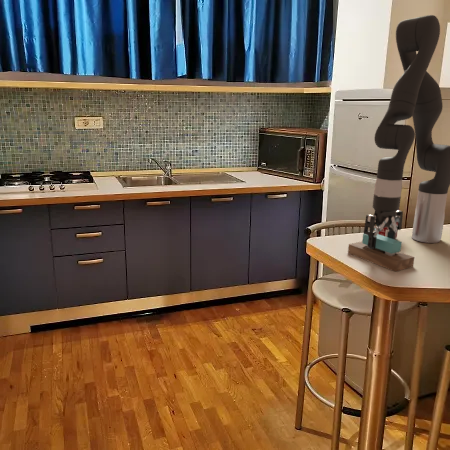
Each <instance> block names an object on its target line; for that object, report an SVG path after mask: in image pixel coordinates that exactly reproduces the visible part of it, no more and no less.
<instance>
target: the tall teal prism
mask: <svg viewBox="0 0 450 450" xmlns="http://www.w3.org/2000/svg"><path fill="white" fill-rule="evenodd" d="M376 237H377V239H376V247H375V249H376V248H377V249H380V250H383V251H385V254H386V255H389V256H394V255H395V253H396V252H401V249H402V241H400V240H397V239H396V238H395V239H391V238H388V237H385V236H382V235H379V234H377V236H376ZM368 238H369V236H368V235H366V234H364V233H363V234H362V240H361V241H362V243H363V244H366V245H367V248H369V247H368ZM369 249H371V248H369Z"/></svg>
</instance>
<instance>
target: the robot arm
mask: <svg viewBox="0 0 450 450" xmlns="http://www.w3.org/2000/svg"><path fill="white" fill-rule="evenodd" d="M440 35H441V25H440V22H439V19H438V16H436V15H433V14H430V15H429V14H428V15H422V16H417V17H412V18H408V19H403V20H401V21H400V22H398V24H397V25H396V29H395V43H396V47H397V52H398V55H399V58H400V62H401V65H402V70H403V74H402V75H401V76H400V77H399V78H398V80H397V81H396V83H395V84H394V87H393V89H392V92H391V96H390V100H389V104H388V107H387V110H386V112H385V115H384V116H383V118H382V120H381V121H380V122H379V125H378V126H377V128H376V130H375V134H374V143H375V145H376V146H377V148H379V149H385V150H397V152H396V154H395V155H394V156H387V157H386V156H385V157H382V158H380V159H379V160H378V165H377V173H376V179H375V180H376V181H375V183H374V191H373V200H372V209H374V213H373V214H366V215H365V222H364V226H363V227H364V228H363V234H366V235H368V236H369V238H368V247H369V248H371V249H375V247H376V239H377V237H376V236H377V234H378V233H379V231H381V230H382V229H383V228H385V227H387V228H388V230H389V231H388V235H387V237H388V238H391V239H395V240H396V238H395V235H396V233H397V234H398V232H397V230H398V231H401V229H402V227H403V226H402V225H403V215H404V211H402V210H400V211H399V209H400V207H401V206H400V205H401V198H402V190H403V178H404V177H403V175H404V170H405V169H404V168H405V163H406V160H407V157H408V155H409V152H410V150H411V148H412V146H413V144H414V142H415V148H416V149H415V150H416V160H417V164H418V167H419V168H420V169H421V170H424V171H428V172H433V173H434V174H435V175H434V176H433V178H432V179H430V180H428V179H427V180H424V181H421V182H419V184H418V191H417V197H416V205H415V209H414V210H415V212H414V219H413V226H412V231H411V238H412V240H414V241H417V242H421V243H427V244H437V243H440V241H441V240H442V236H443V235H442V234H443V229H444V223H445V218H446V214H445V212H446V204H447V197H448V192H449V188H450V145H447V144H438V143H434V141H433V135H432V134H433V129H434V127H435V125H436V123H437V121H438V120H439V118H440V116H441V114H442V112H443V97H442V91H441V87H440V85H439V84H438V82H437V81H436V79H434V77H433V76H432V75H431V74H430V73H429V72H428V71H427V70H428V68H429V66H430V63H431V60H432V58H433V56H434V54H435V51H436V48H437V46H438V43H439V39H440ZM410 118H412V122H413V126H411V124H410V125H409V124H398V122H401V121H405V120H409V119H410ZM396 123H397V124H396ZM396 222H398V225H396Z"/></svg>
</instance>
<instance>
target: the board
mask: <svg viewBox="0 0 450 450" xmlns="http://www.w3.org/2000/svg"><path fill="white" fill-rule="evenodd" d="M347 254H349V255H352V256H354V257H357V258H359V259H363V260H364V261H367V262H371V263H373V264H375V265H378V266H380V267H382V268H386V269H388V270H391V271H393V272H398V271H403V270H405V269H410V268H413V267H414V264H415V256H413V255H410V254H407V253H404V252H401V251H400V252H396V253H395V255H394V256H389V255H386V254H385V251H383V250H380V249H377V248H376V249H369V248H367V245H366V244H363V243H362V240H361V241H358V242H357V241H356V242H354V243H349V244H348V248H347Z"/></svg>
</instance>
